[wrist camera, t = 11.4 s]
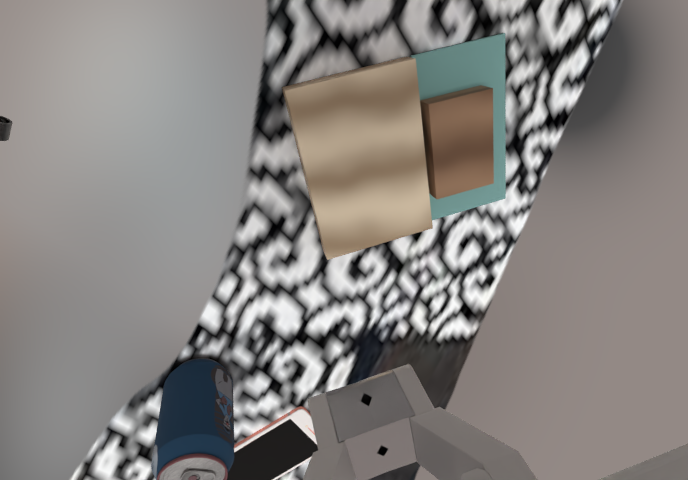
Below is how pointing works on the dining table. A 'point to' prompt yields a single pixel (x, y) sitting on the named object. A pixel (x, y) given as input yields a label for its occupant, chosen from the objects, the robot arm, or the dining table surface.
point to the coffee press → (5, 128)
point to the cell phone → (275, 448)
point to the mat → (458, 74)
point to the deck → (362, 154)
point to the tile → (458, 140)
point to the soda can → (195, 423)
